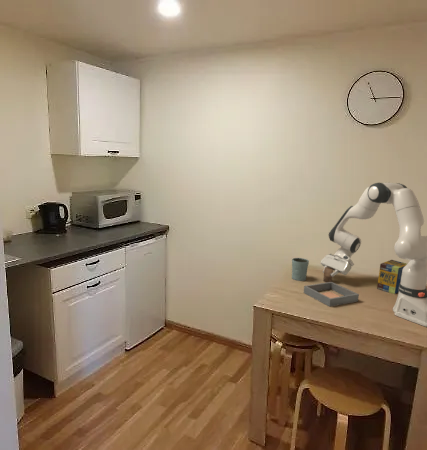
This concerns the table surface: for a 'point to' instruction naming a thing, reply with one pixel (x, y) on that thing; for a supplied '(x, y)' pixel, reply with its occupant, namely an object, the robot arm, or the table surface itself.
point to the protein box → (390, 276)
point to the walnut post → (327, 274)
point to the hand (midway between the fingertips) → (327, 274)
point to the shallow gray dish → (331, 294)
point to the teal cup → (299, 269)
